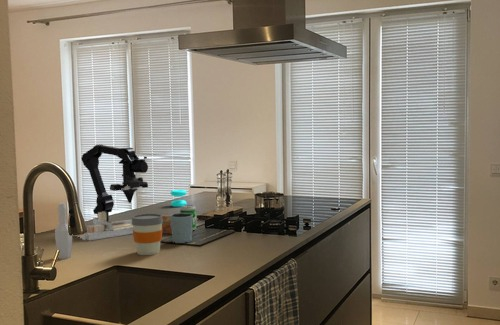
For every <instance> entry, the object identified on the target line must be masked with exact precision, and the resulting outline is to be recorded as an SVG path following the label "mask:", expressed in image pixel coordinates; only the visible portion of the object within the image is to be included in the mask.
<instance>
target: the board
mask: <svg viewBox="0 0 500 325" xmlns="http://www.w3.org/2000/svg"><path fill="white" fill-rule="evenodd" d="M127 227H133V225H131V224H128V223H126V224H119V225H113V230H114V229H121V228H127ZM107 230H108V229H105V228H104V231H107Z"/></svg>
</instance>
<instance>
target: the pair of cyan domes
mask: <svg viewBox="0 0 500 325" xmlns="http://www.w3.org/2000/svg"><path fill="white" fill-rule="evenodd" d="M170 195H171V196H172V197H176V198H177V197H179V198H180V197H184V196H186V195H187V190H186V189H174V190H171V192H170ZM187 204H188V202H187V201H186V200H184V199H176V200H173V201H171V203H170V205H171V206H172V207H174V208H181V207H182V206H184V205H187Z"/></svg>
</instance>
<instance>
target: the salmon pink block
mask: <svg viewBox="0 0 500 325" xmlns="http://www.w3.org/2000/svg"><path fill="white" fill-rule="evenodd" d="M87 226H88V225H87ZM88 233H94V226H88Z"/></svg>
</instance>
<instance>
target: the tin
mask: <svg viewBox="0 0 500 325" xmlns="http://www.w3.org/2000/svg"><path fill="white" fill-rule="evenodd" d="M162 220H163V223H162V234H169V235H172V228H171V219H170V215H162Z"/></svg>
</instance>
